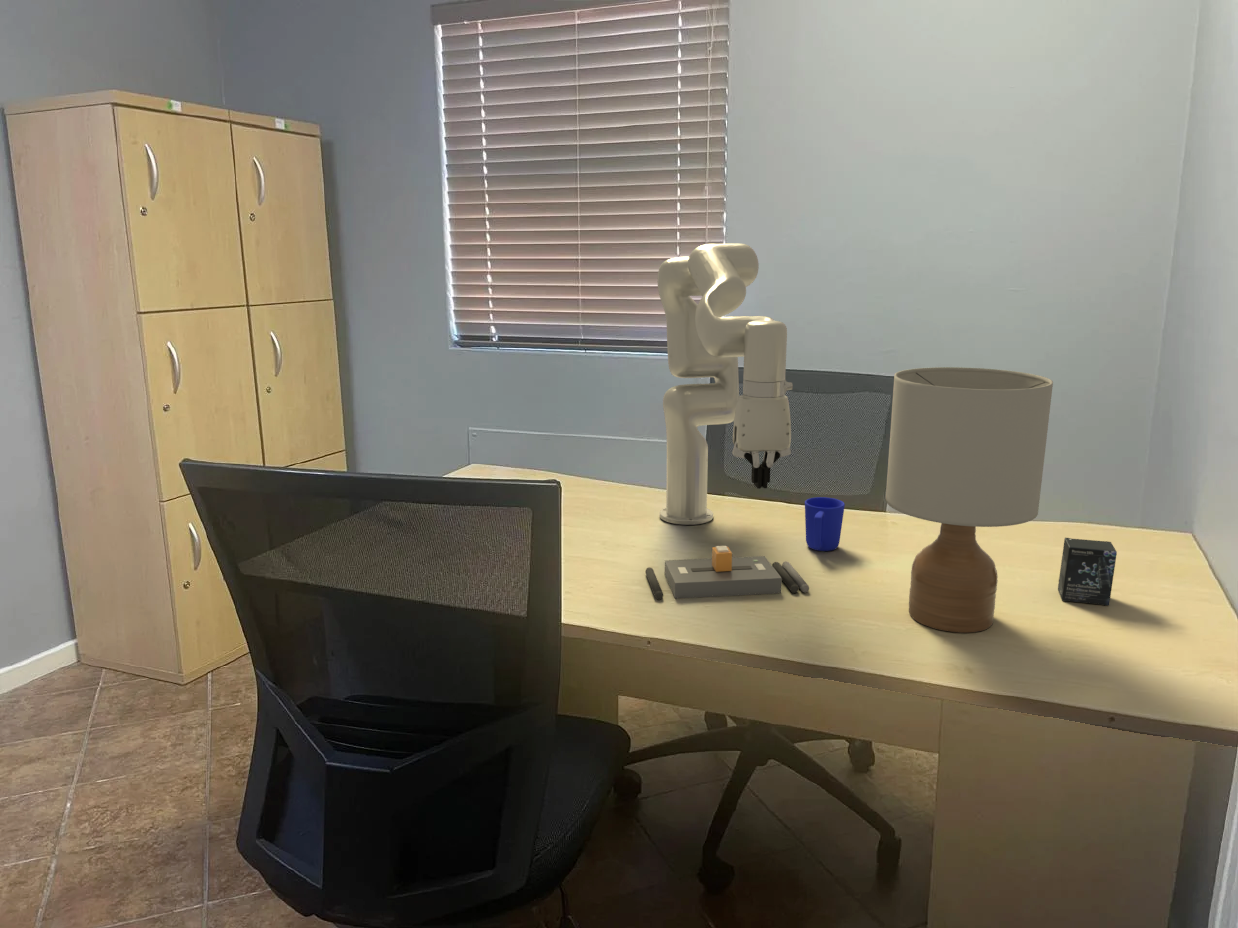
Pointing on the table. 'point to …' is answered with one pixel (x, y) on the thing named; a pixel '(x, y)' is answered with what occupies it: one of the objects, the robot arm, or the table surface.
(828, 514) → the mug
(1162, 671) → the table surface
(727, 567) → the block
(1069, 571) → the box
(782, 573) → the grey capsule
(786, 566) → the light grey rod
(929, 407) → the lamp
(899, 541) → the table surface
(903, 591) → the table surface
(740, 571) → the slider switch box
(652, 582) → the dark grey rounded rod
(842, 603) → the table surface
